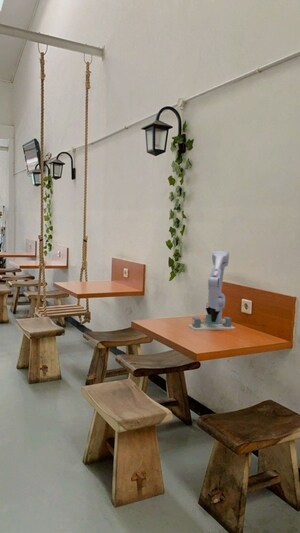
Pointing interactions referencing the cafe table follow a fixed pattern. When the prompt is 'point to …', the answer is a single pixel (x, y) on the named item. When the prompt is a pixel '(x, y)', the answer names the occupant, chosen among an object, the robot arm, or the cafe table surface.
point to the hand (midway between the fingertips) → (212, 321)
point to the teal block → (209, 321)
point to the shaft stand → (197, 325)
